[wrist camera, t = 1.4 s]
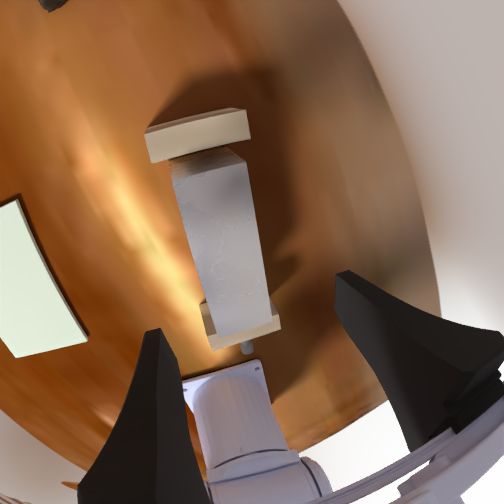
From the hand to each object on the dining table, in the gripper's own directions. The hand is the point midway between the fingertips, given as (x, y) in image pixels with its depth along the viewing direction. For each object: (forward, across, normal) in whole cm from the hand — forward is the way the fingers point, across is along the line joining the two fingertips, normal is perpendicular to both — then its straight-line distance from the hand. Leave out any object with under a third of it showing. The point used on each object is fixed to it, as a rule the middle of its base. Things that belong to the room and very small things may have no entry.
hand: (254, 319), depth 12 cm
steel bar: (+10, 0, +1) cm, 10 cm away
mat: (+10, +16, +1) cm, 19 cm away
